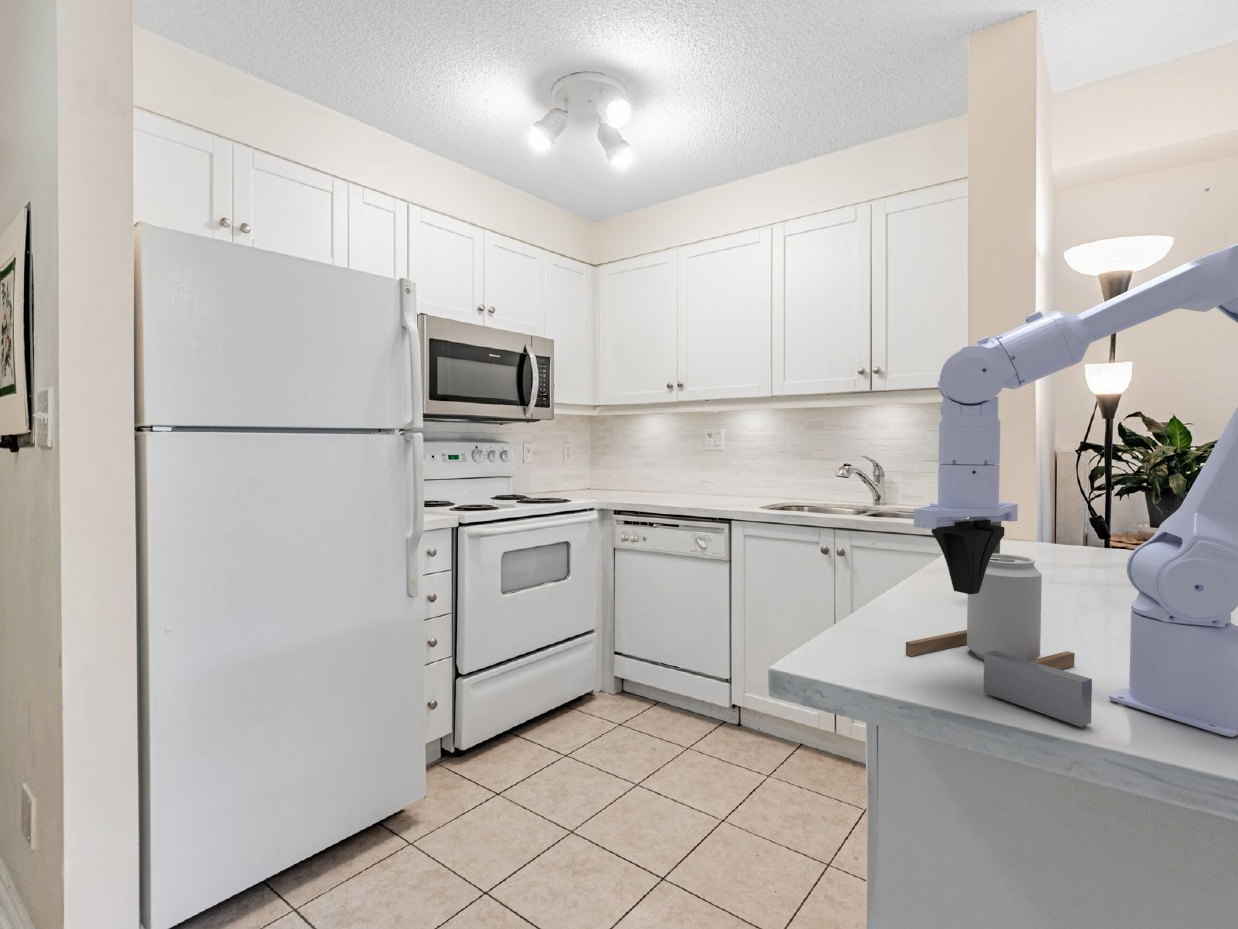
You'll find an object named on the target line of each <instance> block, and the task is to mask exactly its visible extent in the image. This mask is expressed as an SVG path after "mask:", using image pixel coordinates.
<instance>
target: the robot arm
mask: <svg viewBox="0 0 1238 929" xmlns="http://www.w3.org/2000/svg"><path fill="white" fill-rule="evenodd" d="M1215 308H1216V309H1217V310H1219V312H1221V313H1222V314H1224V315H1225V316H1226V317H1228V318H1229V319H1231V320H1232V321H1234V322H1235V323H1237V324H1238V243H1235V244H1233V245H1230V246H1228V247H1226V248H1223V249H1220V250H1217V251H1214V252H1212V253H1209V254H1207V255H1204V256H1203V257H1202V256H1201V257H1198V258H1196V259H1193V260H1192V261H1189V262H1187V263H1183V264H1182V265H1180V266H1178V267H1176V268H1174V269H1172V270H1170V271H1169V270H1168V271H1167V272H1165V273H1163V274H1161V275H1159V276H1156V277H1155V278H1153V279H1150V280H1149V281H1145V282H1144V283H1142V284H1139V285H1138V286H1136V287H1133V288H1132V289H1129V290H1127V291H1125V292H1123V293H1121V294H1119V295H1116V296H1115V297H1112V298H1111V299H1108V300H1106V301H1104V302H1102V303H1100V304H1097V305H1095V306H1093V307H1090V308H1089V309H1087V310H1084V311H1082V312H1080V313H1079V314H1072V313H1067V312H1063V311H1061V310H1053V311H1052V310H1051V312H1048V313H1046V314H1045V315H1044V314H1043V312H1042V311H1040V310H1038V311H1035V312H1033V313H1031V314H1029V315H1027V316H1026V317H1025V322H1026V323H1024V324H1021V325H1020V326H1017V327H1015V328H1012V329H1011V330H1009V331H1006V332H1003V333H1001V334H1000V335H996V336H995V337H992V338H989V337H988V336H987V335H986V336H984V337H981V338H979V339H978V340H977V342H976V344H977V345H975V344H974V345H966V346H963V347H962V348H960V350H959V351H957V352H955V353H953V354H952V355H950V357H949V358H948V359H947V360H946V361H945V362H944V364H943V366H942V367H941V371H940V374H939V380H938V381H937V386H938V387H937V388H938V390H939V393H940V395H941V396H942V397H943V398H942V402H941V404H940V415H941V416H942V417H941V420H940V421H939V423H938V472H937V473H938V474H937V475H938V476H937V477H938V478H937V483H938V484H937V502H932V503H929V505H928V506H923V507H917V508H916V507H915V508H913V527H915V528H919V529H920V528H922V529H927V530H931V534H932V535H933V537H934V538H935V540H936V542H937V543H938V546H939V547H940V549H941V551H942V555H943V558H944V560H945V562H946V567H947V568H948V569H947V570H948V573H949V577H950V581H951V585H952V588H953V591H954V592H956V593H957V592H958V593H962V594H966V595H968V594H971V595H972V594H978V593H979V591H980V588H981V585H982V582H983V578H984V575H985V572H986V569H987V566H988V563H989V560H990V558H991V556H992V554H993V552H994V550H995V548H996V546H997V545H998V543H999V542H1000V543H1001V541H1000V540H1002V539H1003V538H1004V536H1005V527H1004V526H1002V525H1001V526H994V525H991V522H998V521H1001V522H1018V510H1019V509H1018V506H1019V505H1018V503H1013V502H1012V503H1010V502H1002V501H1000V462H1001V460H1000V458H1001V457H1000V456H1001V455H1000V454H1001V420H1000V419H999V396H998V395H999V393H1001V392H1002V390H1003V389H1010V390H1016V389H1019V388H1020V387H1021V388H1022V387H1023V386H1025V385H1027V384H1030V383H1033V382H1035V381H1038V380H1040V379H1043V378H1045V377H1047V376H1050V375H1053V374H1054V373H1058V372H1059V371H1062V370H1064V369H1067V368H1069V367H1071V366H1075V365H1076V364H1079V363H1080V362H1082V360H1083V358H1084V356H1085V354H1086V352H1087V350H1088V347H1089V346H1090V344H1091V343H1094V342H1096V341H1099V340H1101V339H1104V338H1107V337H1109V336H1112V335H1114V334H1116V333H1119V332H1122V331H1124V330H1127V329H1130V328H1132V327H1134V326H1138V325H1139V324H1142V323H1145V322H1147V321H1150V320H1153V319H1154V318H1155V319H1156V318H1158V317H1160V316H1163V315H1165V314H1168V313H1170V312H1172V311H1174V310H1180V309H1181V310H1189V311H1192V312H1193V311H1194V312H1200V313H1201V312H1202V313H1204V312H1209V311H1211V310H1213V309H1215ZM1209 454H1210V455H1209V456H1208V457H1207V459H1206V461H1205V463H1204V465H1203V466H1202V468H1201V470H1200V472H1199V474H1198V476H1197V477H1196V478H1195V481H1194V482H1193V483H1192V486H1191V488H1189V491H1188V493H1187V495H1186V497H1185V498H1184V499H1183V502H1182V504H1181V505H1180V506H1179V508H1178V509H1177V510H1175V512H1173V513H1172V514H1171V515H1170V516H1169V517H1167V518H1166V519H1165V520H1164V521H1162V522H1161V523H1160V524H1159V527H1158V528H1157V531H1156V532H1155V534H1153V536H1152V537H1151V538H1150V539H1148V540H1147V541H1145V542H1144V543H1142V544H1140V545H1139V546H1137V547H1136V548H1135V549H1133V551H1132V552H1131V554H1130V555H1129V557H1128V559H1127V562H1126V574H1127V578H1128V579H1129V580H1128V581H1129V582H1130V584H1131V585H1132V586H1133V588H1134V589H1136V590H1137V591H1138V595H1137V597H1136V598H1135V600H1134V601H1133V602H1131V604H1130V605H1131V606H1130V640H1129V641H1130V642H1129V679H1128V680H1129V681H1128V684H1129V685H1128V688H1127V689H1123V690H1120V691H1117V692H1114V693H1110V694H1109V695H1108V699H1109V700H1110V701H1112V702H1115V703H1119V704H1121V705H1125V706H1129V707H1131V708H1133V709H1134V708H1135V709H1137V710H1140V711H1144V712H1147V713H1151V714H1154V715H1157V716H1161V717H1164V718H1167V719H1170V720H1174V721H1177V722H1179V723H1183V724H1186V725H1190V726H1193V727H1196V728H1199V729H1203V730H1205V731H1208V732H1209V731H1210V732H1211V733H1212V732H1213V733H1214V734H1218V735H1222V736H1226V737H1231V738H1233V737H1235V736H1238V625H1236V624H1234V623H1233V622H1232V614H1231V613H1233V612H1234V611H1235V610H1236V609H1237V608H1238V406H1237V407H1236V408H1235V411H1233V414H1232V415H1231V417H1230V419H1229V421H1228V423H1227V424H1226V426H1225V428H1224V429H1223V431H1222V433H1221V435H1220V437H1219V438H1218V440H1217V442H1216V443H1215V445H1214V447H1213V449H1212V451H1211V452H1210V453H1209ZM969 517H981V518H969Z"/></svg>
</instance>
